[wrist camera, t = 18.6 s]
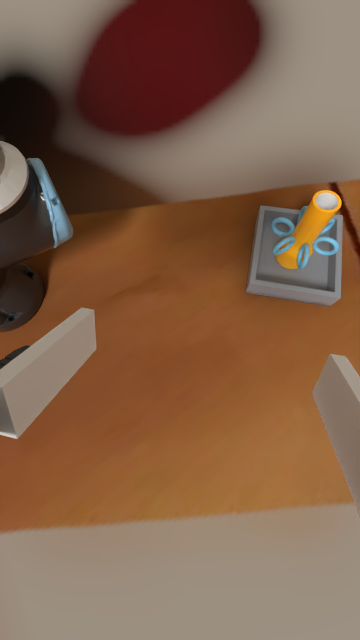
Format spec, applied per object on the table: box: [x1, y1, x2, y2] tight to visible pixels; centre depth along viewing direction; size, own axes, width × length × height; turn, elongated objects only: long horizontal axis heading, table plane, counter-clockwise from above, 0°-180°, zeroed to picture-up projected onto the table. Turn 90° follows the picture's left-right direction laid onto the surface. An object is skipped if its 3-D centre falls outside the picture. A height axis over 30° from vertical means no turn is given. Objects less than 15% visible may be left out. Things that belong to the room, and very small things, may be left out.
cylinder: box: [271, 190, 341, 270], centre depth 44 cm, size 12×10×15 cm
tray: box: [245, 205, 343, 306], centre depth 50 cm, size 16×18×4 cm
